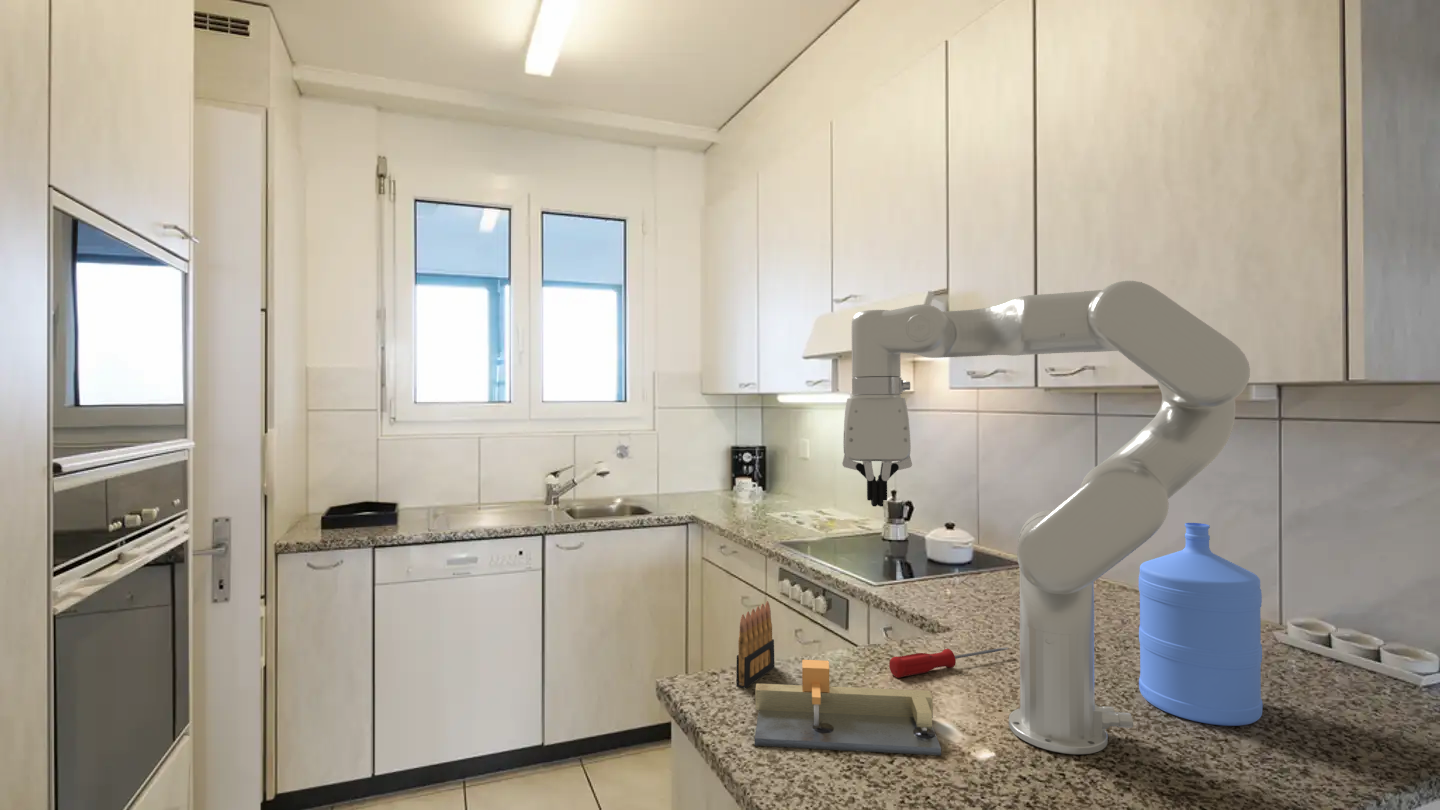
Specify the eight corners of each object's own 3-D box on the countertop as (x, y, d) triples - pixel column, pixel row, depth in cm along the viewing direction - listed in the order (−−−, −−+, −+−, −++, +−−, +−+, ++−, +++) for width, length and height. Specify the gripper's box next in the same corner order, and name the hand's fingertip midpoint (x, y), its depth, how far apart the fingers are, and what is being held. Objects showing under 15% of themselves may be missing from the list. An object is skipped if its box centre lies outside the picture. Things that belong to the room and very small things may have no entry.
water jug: (1283, 735, 96) (1282, 536, 96) (1155, 720, 101) (1154, 531, 101) (1237, 690, 111) (1236, 518, 111) (1127, 679, 116) (1126, 514, 116)
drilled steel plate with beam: (926, 709, 105) (926, 683, 105) (944, 755, 92) (944, 725, 92) (757, 701, 109) (757, 676, 109) (750, 745, 95) (750, 716, 95)
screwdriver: (1014, 661, 125) (1014, 641, 125) (899, 681, 116) (899, 661, 116) (1000, 654, 128) (1000, 635, 128) (887, 674, 119) (887, 654, 119)
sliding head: (828, 702, 105) (828, 660, 105) (830, 727, 97) (830, 682, 97) (802, 701, 105) (802, 659, 105) (802, 726, 97) (802, 681, 97)
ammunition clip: (765, 665, 124) (765, 599, 124) (774, 667, 123) (774, 600, 123) (736, 686, 115) (735, 614, 115) (745, 688, 114) (745, 616, 114)
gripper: (920, 389, 111) (921, 502, 111) (827, 390, 113) (828, 501, 113) (929, 388, 103) (930, 509, 104) (829, 389, 105) (830, 508, 105)
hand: (877, 505), depth 108 cm, fingers closed
